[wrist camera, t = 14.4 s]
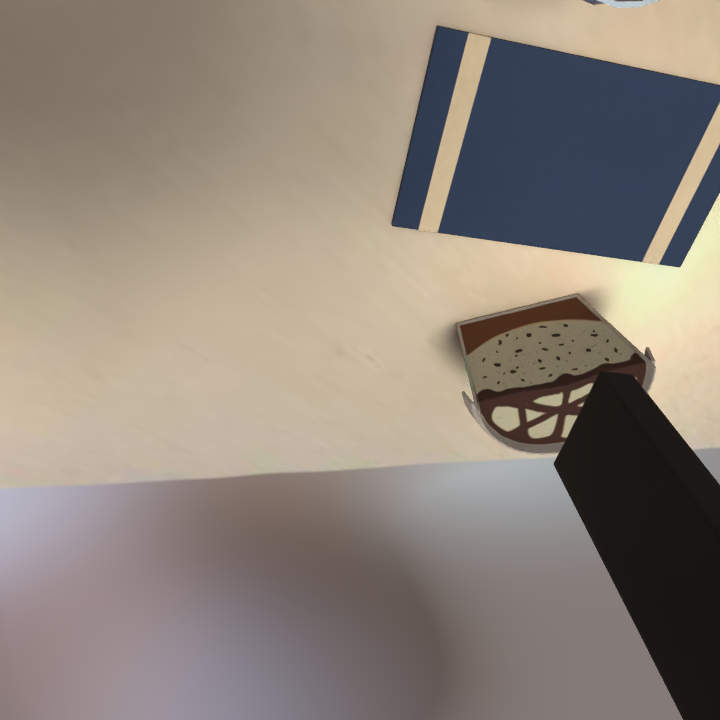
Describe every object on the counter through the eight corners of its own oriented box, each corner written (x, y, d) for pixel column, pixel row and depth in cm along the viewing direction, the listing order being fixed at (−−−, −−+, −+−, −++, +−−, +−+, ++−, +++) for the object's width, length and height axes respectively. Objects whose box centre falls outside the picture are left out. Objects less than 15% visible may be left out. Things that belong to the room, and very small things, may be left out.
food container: (447, 389, 50) (479, 478, 42) (436, 327, 46) (469, 412, 38) (596, 353, 49) (658, 436, 41) (596, 288, 46) (664, 365, 37)
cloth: (391, 224, 41) (392, 226, 41) (436, 25, 34) (438, 26, 34) (677, 265, 45) (680, 267, 45) (766, 95, 39) (771, 96, 38)
